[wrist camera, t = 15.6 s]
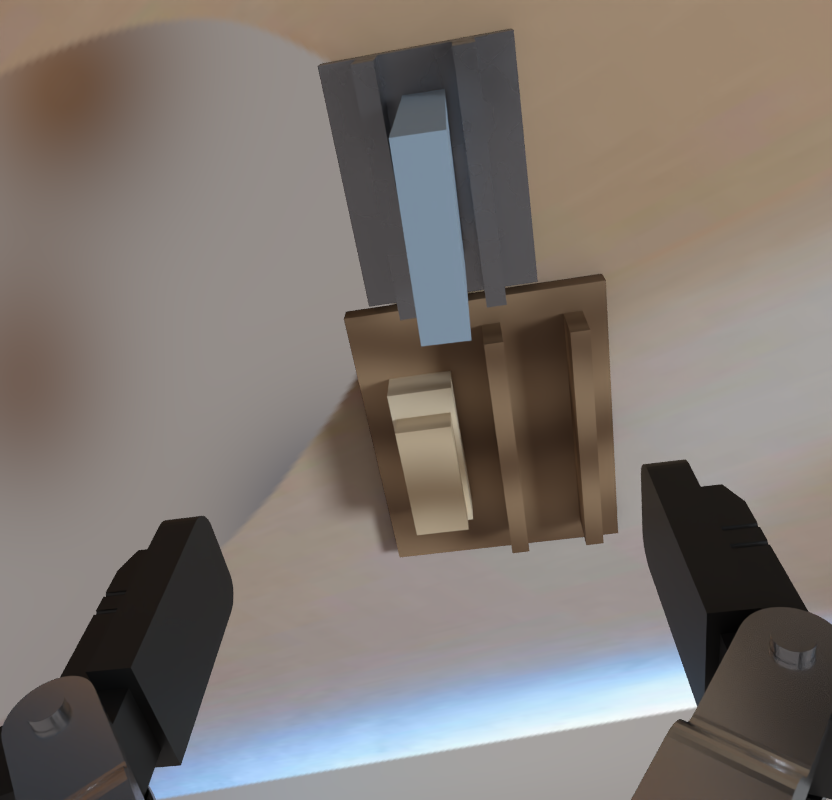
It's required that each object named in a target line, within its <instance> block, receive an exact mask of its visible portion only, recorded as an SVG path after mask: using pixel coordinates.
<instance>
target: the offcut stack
mask: <svg viewBox="0 0 832 800" xmlns="http://www.w3.org/2000/svg"><path fill="white" fill-rule="evenodd" d="M387 398H388V403H389V407H390V412H391V417H392V421H393V426H394V431H395V435H396V440H397V445H398V449H399V454H400V459H401V463H402V468H403V472H404V477H405V482H406V486H407V491H408V496H409V500H410V505H411V510H412V514H413V519H414V524H415V528H416V533H417V535H424V534H433V533H441V532H450V531H459V530H468V529H469V528H468V520H471V519H473V510H472V497H471V491H470V485H469V479H468V473H467V467H466V460H465V454H464V448H463V442H462V436H461V430H460V424H459V418H458V412H457V406H456V400H455V394H454V388H453V382H452V376H451V371H445V372H438V373H430V374H423V375H416V376H409V377H401V378H394V379H389V386H388V393H387Z"/></svg>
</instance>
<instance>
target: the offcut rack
mask: <svg viewBox="0 0 832 800" xmlns="http://www.w3.org/2000/svg"><path fill="white" fill-rule="evenodd" d="M505 293H506V302H507V305H502V306H495V307H488V308H487V305H486V298H485V291H483V292H476V293H470V294H468V305H469V317H470V329H471V341H463V342H454V343H446V344H437V345H429V346H421V342H420V335H419V329H418V323H417V318H413V319H406V320H400V317H399V312H398V307H397V304H395V305H389V306H382V307H375V308H368V309H361V310H355V311H348V312H346V314H345V317H344V321H345V325H346V330H347V334H348V338H349V343H350V347H351V351H352V355H353V359H354V364H355V368H356V373H357V377H358V381H359V385H360V390H361V394H362V398H363V402H364V407H365V411H366V415H367V420H368V424H369V428H370V432H371V437H372V441H373V445H374V449H375V454H376V458H377V462H378V467H379V471H380V475H381V479H382V484H383V488H384V492H385V496H386V501H387V505H388V509H389V513H390V518H391V522H392V526H393V531H394V535H395V539H396V543H397V548H398V552H399V556H400V557H407V556H416V555H425V554H434V553H443V552H452V551H461V550H470V549H479V548H488V547H497V546H506V545H512V552H513V553H518V552H527V551H529V545H528V543H533V542H542V541H551V540H560V539H569V538H577V537H585V541H586V545H591V544H600V543H603V535H604V534H613V533H618V523H617V503H616V482H615V462H614V441H613V421H612V400H611V380H610V359H609V339H608V318H607V298H606V280H605V278H604V277H603V275H602V274H598V275H591V276H584V277H578V278H571V279H564V280H557V281H551V282H544V283H537V284H530V285H524V286H517V287H510V288H505ZM445 371H451V376H452V382H453V388H454V394H455V400H456V406H457V412H458V418H459V424H460V430H461V436H462V442H463V448H464V454H465V460H466V467H467V473H468V479H469V485H470V491H471V497H472V510H473V519H471V520H468V528H469V529H468V530H459V531H450V532H441V533H433V534H424V535H417V533H416V528H415V524H414V519H413V514H412V510H411V505H410V500H409V496H408V491H407V486H406V482H405V477H404V472H403V468H402V463H401V459H400V454H399V449H398V445H397V440H396V435H395V431H394V426H393V421H392V417H391V412H390V407H389V403H388V398H387V393H388V386H389V379H394V378H401V377H409V376H416V375H423V374H430V373H438V372H445Z"/></svg>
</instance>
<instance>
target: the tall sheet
mask: <svg viewBox="0 0 832 800" xmlns="http://www.w3.org/2000/svg"><path fill="white" fill-rule="evenodd" d="M389 143H390V149H391V155H392V162H393V168H394V175H395V181H396V188H397V194H398V200H399V207H400V213H401V220H402V226H403V233H404V239H405V245H406V252H407V258H408V265H409V271H410V278H411V284H412V290H413V297H414V303H415V310H416V316H417V323H418V329H419V335H420V342H421V346H429V345H437V344H446V343H454V342H463V341H471V329H470V317H469V305H468V293H467V281H466V270H465V258H464V248H463V240H462V231H461V223H460V214H459V206H458V197H457V188H456V180H455V171H454V163H453V154H452V146H451V137H450V129H449V120H448V112H447V103H446V94H445V89H441V90H434V91H428V92H421V93H415V94H408V95H402V98H401V101H400V104H399V107H398V110H397V114H396V117H395V120H394V123H393V126H392V129H391V133H390V136H389Z"/></svg>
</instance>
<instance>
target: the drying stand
mask: <svg viewBox="0 0 832 800" xmlns="http://www.w3.org/2000/svg"><path fill="white" fill-rule="evenodd" d="M318 70H319V74H320V79H321V84H322V88H323V93H324V97H325V102H326V106H327V111H328V116H329V121H330V125H331V130H332V135H333V140H334V144H335V149H336V154H337V158H338V163H339V167H340V172H341V177H342V182H343V186H344V191H345V196H346V200H347V205H348V210H349V214H350V219H351V224H352V228H353V233H354V238H355V242H356V247H357V252H358V256H359V261H360V266H361V270H362V275H363V280H364V284H365V289H366V294H367V298H368V303H369V306H375V305H382V304H389V303H396V302H397V307H398V312H399V317H400V320H406V319H413V318H417V316H416V310H415V303H414V297H413V290H412V284H411V278H410V271H409V265H408V258H407V252H406V245H405V239H404V233H403V226H402V220H401V213H400V207H399V200H398V194H397V188H396V181H395V175H394V168H393V162H392V155H391V149H390V143H389V136H390V133H391V129H392V126H393V123H394V120H395V117H396V114H397V110H398V107H399V104H400V101H401V98H402V95H408V94H415V93H421V92H428V91H434V90H441V89H445V94H446V103H447V112H448V120H449V129H450V137H451V146H452V154H453V163H454V171H455V180H456V188H457V197H458V206H459V214H460V223H461V231H462V240H463V248H464V258H465V270H466V281H467V292H470V291H477V290H484V291H485V298H486V305H487V308H488V307H495V306H502V305H507V302H506V293H505V286H511V285H518V284H524V283H531V282H538V281H537V271H536V260H535V250H534V239H533V229H532V218H531V208H530V197H529V187H528V176H527V166H526V156H525V145H524V135H523V124H522V114H521V103H520V93H519V82H518V72H517V61H516V51H515V40H514V30H513V29H507V30H501V31H496V32H490V33H485V34H480V35H474V36H469V37H463V38H458V39H453V40H447V41H442V42H436V43H431V44H426V45H420V46H415V47H409V48H404V49H399V50H393V51H388V52H382V53H377V54H371V55H366V56H361V57H355V58H350V59H344V60H339V61H334V62H328V63H323V64H320V65H319V66H318Z"/></svg>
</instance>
